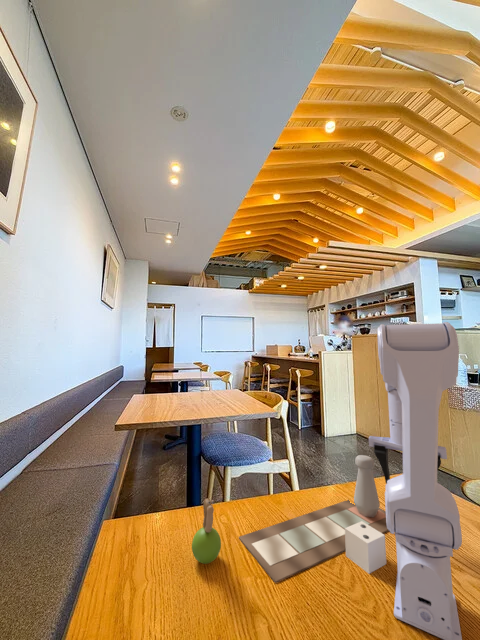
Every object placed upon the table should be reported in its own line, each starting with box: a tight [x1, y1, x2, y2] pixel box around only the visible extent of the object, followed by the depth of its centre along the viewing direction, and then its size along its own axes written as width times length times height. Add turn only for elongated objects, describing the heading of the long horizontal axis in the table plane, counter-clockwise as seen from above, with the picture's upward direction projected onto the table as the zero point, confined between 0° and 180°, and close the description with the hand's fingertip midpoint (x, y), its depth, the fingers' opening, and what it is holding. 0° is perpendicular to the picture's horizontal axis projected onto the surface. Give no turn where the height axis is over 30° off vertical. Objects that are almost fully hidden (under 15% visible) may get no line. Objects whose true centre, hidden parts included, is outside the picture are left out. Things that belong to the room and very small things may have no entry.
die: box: [345, 521, 387, 574], centre depth 52 cm, size 5×5×5 cm
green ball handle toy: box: [191, 498, 222, 565], centre depth 52 cm, size 5×6×12 cm
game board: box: [238, 499, 390, 584], centre depth 61 cm, size 37×13×1 cm, turn 119°
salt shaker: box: [353, 454, 381, 517], centre depth 68 cm, size 6×6×13 cm
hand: (407, 486), depth 60 cm, fingers open, 7 cm apart
